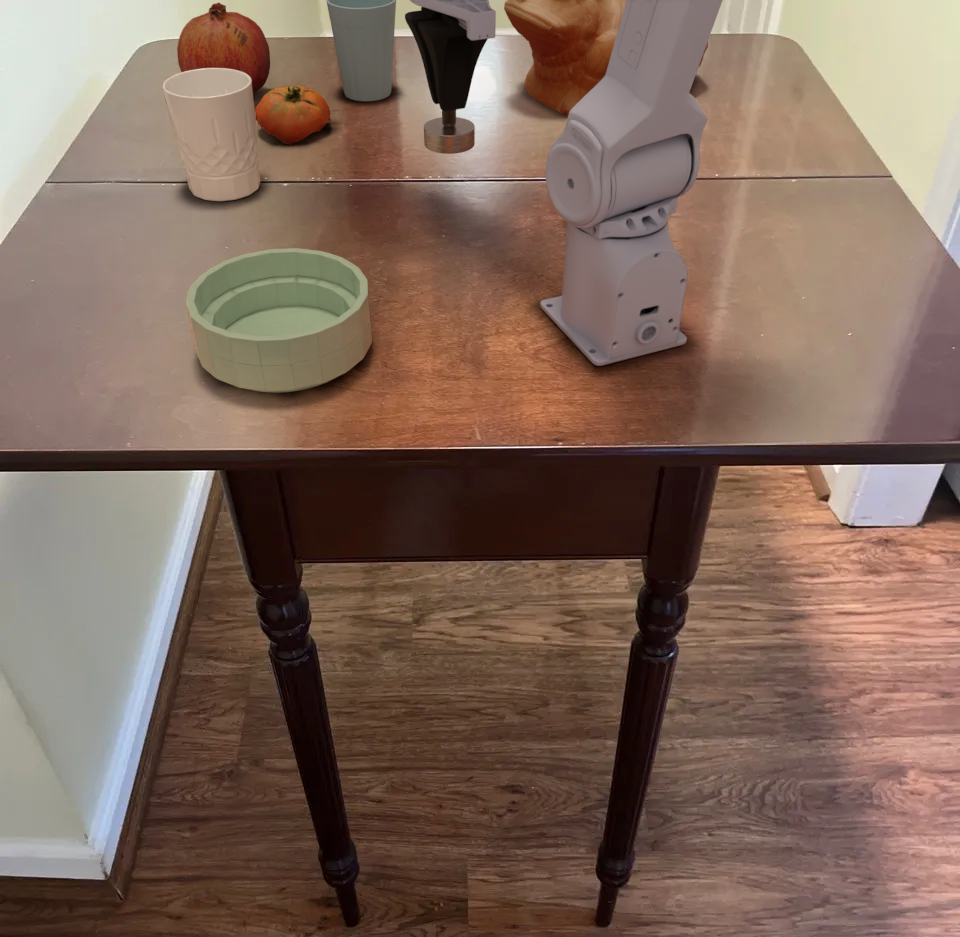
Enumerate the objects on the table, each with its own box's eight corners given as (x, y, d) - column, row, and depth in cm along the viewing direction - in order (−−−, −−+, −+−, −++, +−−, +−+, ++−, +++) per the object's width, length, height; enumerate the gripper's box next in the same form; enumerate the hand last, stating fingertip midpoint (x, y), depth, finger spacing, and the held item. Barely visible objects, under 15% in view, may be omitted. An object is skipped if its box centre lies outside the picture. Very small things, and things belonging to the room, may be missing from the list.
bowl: (396, 375, 69) (393, 315, 66) (219, 418, 65) (206, 357, 62) (342, 292, 78) (337, 235, 75) (184, 325, 74) (171, 267, 71)
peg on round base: (482, 149, 83) (483, 37, 77) (435, 157, 82) (432, 44, 76) (463, 131, 86) (462, 22, 80) (417, 138, 85) (412, 28, 79)
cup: (413, 96, 112) (408, 0, 105) (355, 110, 109) (347, 12, 102) (380, 78, 117) (374, -15, 110) (324, 90, 114) (314, -5, 107)
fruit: (294, 97, 112) (283, 5, 105) (222, 120, 106) (206, 25, 100) (239, 75, 117) (226, -13, 111) (169, 96, 112) (150, 4, 105)
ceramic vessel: (478, 89, 114) (478, -51, 104) (659, 58, 123) (675, -74, 113) (536, 129, 105) (542, -20, 95) (727, 92, 114) (751, -48, 104)
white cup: (185, 209, 89) (163, 101, 83) (182, 174, 95) (161, 71, 89) (270, 199, 91) (255, 93, 85) (262, 166, 97) (247, 64, 90)
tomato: (249, 134, 99) (255, 65, 99) (254, 157, 106) (260, 92, 106) (327, 145, 100) (333, 76, 100) (327, 167, 107) (333, 102, 107)
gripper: (535, -59, 69) (528, 127, 78) (458, -97, 79) (459, 72, 88) (444, -51, 67) (447, 140, 76) (377, -90, 77) (387, 82, 86)
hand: (449, 105), depth 82 cm, fingers closed on peg on round base
